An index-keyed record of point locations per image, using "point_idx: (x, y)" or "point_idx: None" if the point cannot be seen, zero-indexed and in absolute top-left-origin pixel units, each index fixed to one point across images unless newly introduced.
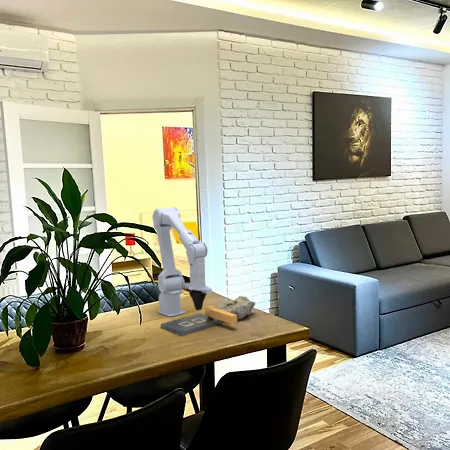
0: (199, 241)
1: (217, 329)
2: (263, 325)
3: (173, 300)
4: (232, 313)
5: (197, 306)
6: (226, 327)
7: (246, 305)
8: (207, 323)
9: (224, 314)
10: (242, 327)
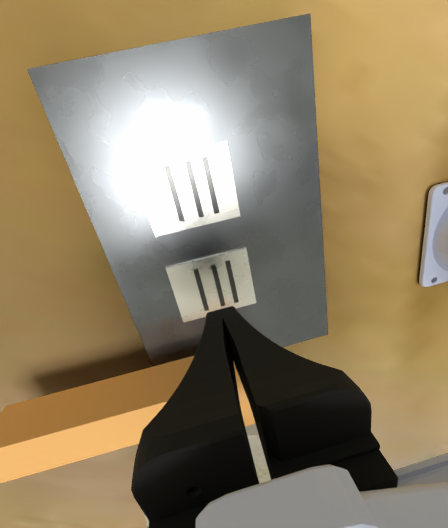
0: None
1: (84, 326)
2: (55, 487)
3: None
4: (40, 470)
5: (204, 332)
6: (97, 370)
7: None
8: (138, 308)
9: (52, 430)
10: None
